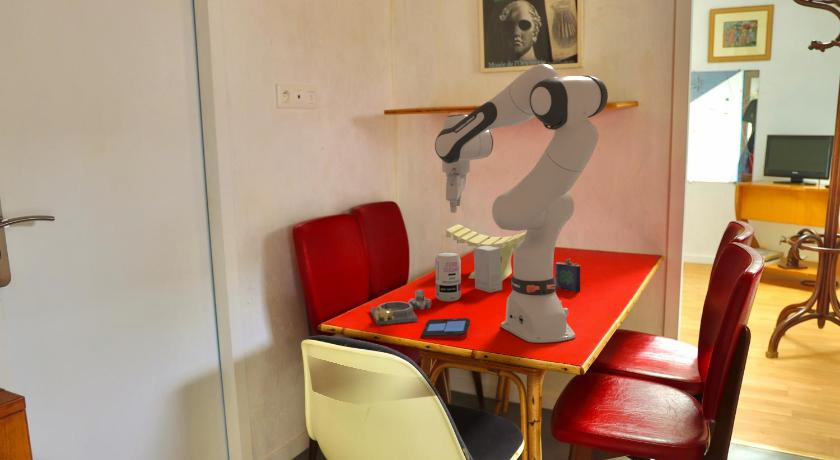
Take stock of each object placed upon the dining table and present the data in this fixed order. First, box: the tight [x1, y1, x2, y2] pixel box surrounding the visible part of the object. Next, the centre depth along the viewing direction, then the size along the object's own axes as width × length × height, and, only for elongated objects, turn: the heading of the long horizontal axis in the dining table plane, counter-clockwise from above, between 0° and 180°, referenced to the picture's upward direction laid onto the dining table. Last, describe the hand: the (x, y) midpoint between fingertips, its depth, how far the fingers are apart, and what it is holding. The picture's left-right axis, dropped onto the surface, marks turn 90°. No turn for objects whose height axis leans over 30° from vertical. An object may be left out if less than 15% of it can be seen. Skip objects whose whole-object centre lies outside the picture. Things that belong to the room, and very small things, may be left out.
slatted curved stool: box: [445, 223, 527, 282], centre depth 245 cm, size 30×16×18 cm, turn 67°
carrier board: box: [369, 300, 419, 326], centre depth 197 cm, size 14×12×3 cm
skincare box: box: [473, 245, 503, 293], centre depth 224 cm, size 8×6×15 cm
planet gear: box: [408, 289, 432, 310], centre depth 207 cm, size 7×7×5 cm
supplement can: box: [434, 251, 462, 302], centre depth 214 cm, size 8×8×15 cm
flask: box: [554, 258, 581, 293], centre depth 222 cm, size 9×3×11 cm, turn 50°
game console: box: [420, 317, 471, 340], centre depth 183 cm, size 14×13×2 cm
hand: (455, 208), depth 209 cm, fingers open, 8 cm apart
